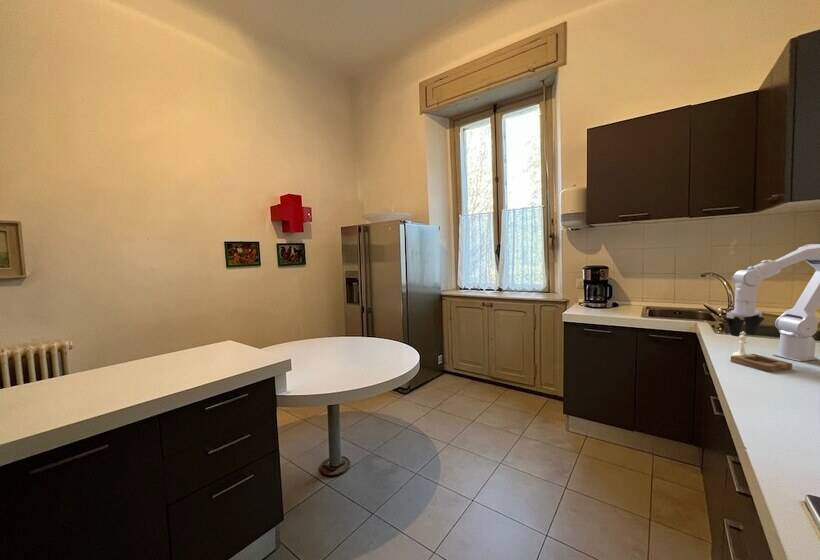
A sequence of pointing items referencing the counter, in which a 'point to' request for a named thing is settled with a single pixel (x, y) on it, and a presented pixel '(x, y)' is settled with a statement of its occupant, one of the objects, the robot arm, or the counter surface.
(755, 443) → the counter surface
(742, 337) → the chess piece
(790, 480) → the counter surface
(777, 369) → the socket board
